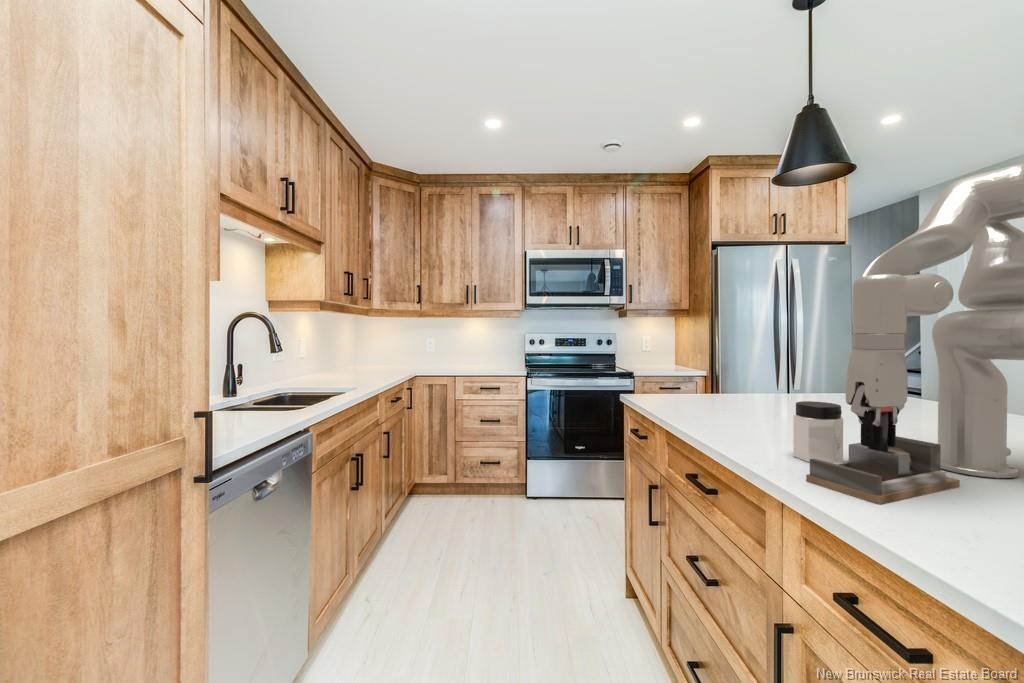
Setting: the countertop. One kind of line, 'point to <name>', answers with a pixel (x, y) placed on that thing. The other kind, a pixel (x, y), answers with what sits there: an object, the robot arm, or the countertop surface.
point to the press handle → (880, 455)
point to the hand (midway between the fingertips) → (877, 444)
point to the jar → (818, 431)
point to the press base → (876, 490)
